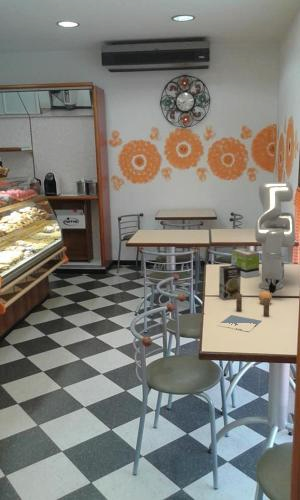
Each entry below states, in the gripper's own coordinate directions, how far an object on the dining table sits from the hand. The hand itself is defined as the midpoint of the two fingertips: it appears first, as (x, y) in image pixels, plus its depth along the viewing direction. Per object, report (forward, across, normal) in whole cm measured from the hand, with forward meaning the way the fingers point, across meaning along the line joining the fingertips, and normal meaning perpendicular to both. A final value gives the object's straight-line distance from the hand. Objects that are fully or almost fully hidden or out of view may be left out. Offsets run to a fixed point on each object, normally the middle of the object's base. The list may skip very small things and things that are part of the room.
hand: (272, 292), depth 210 cm
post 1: (+4, +7, +24) cm, 26 cm away
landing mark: (+5, 0, +38) cm, 39 cm away
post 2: (+4, -6, +24) cm, 25 cm away
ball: (+1, 0, +8) cm, 9 cm away
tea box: (+2, +30, -36) cm, 47 cm away
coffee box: (+4, +19, +8) cm, 21 cm away
